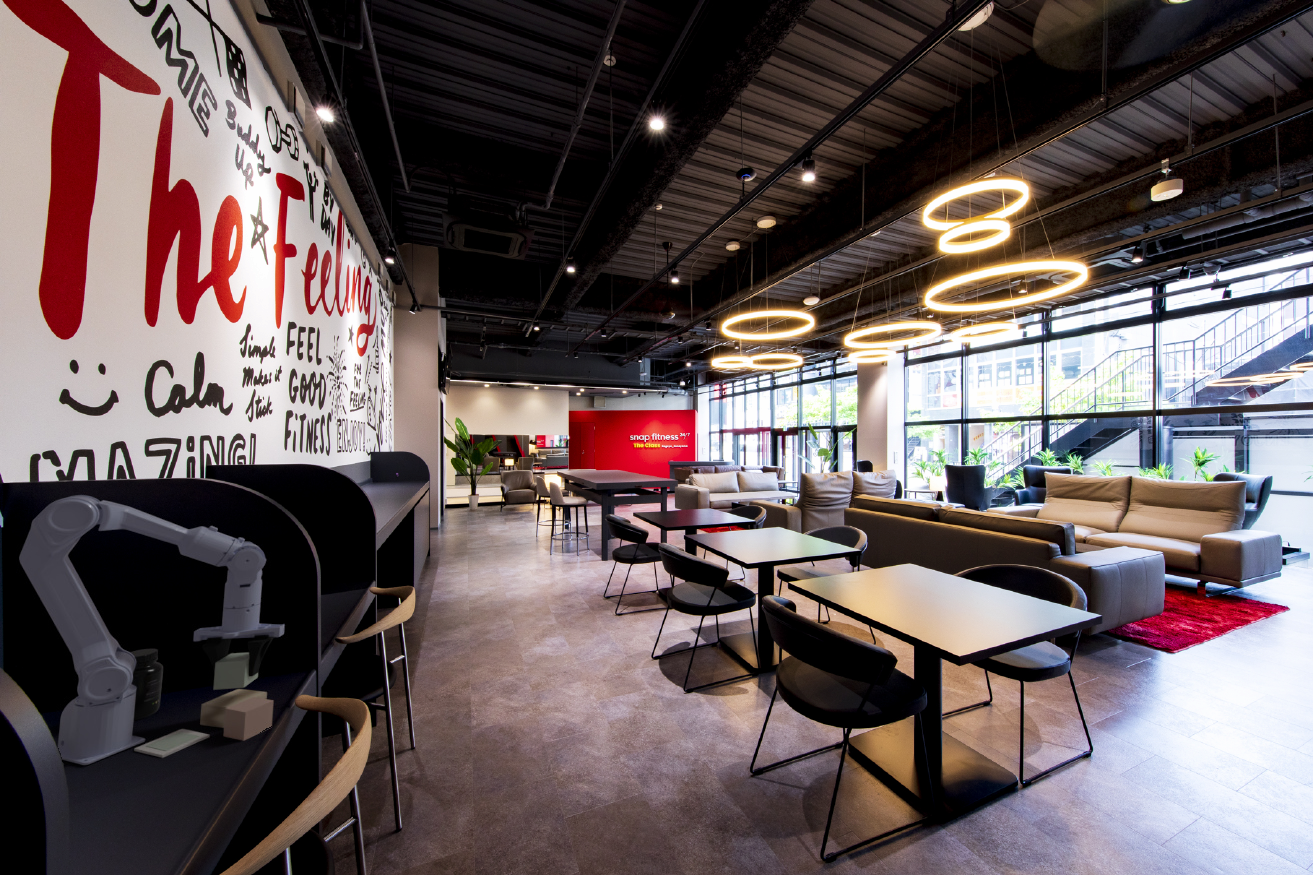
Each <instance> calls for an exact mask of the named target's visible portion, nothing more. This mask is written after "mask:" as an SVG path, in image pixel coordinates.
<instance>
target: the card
mask: <svg viewBox="0 0 1313 875" xmlns="http://www.w3.org/2000/svg"><path fill="white" fill-rule="evenodd" d="M208 738H210V734H207V733H203V732H199V731H195V730H191V729H185V728H181V729H178V730H176V731H173V732H171V733H168V734H167V735H163V736H161V737H159V738H155V739H154V740H150V741H149V742H146V743H145V744H142V745H140V746H136V747H134V752H136V753H137V752H138V753H142V754H145V755H151V756H153V757H154V756H155V757H158V758H161V759H163V758H165V757H168V756H170V755H172V754H175V753H176V752H179V751H181V750H183V749H186V748H187V747H191V746H192V745H194V744H196V743H199V742H202V741H204V740H206V739H208Z"/></svg>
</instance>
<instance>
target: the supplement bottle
mask: <svg viewBox="0 0 1313 875" xmlns="http://www.w3.org/2000/svg"><path fill="white" fill-rule="evenodd" d="M129 652H130V653H131V654H133V656H134V657H135V659H136V666H135V669H134V671H133V680H132V683H131V684H132V685H134V686H136V697H135V708H134V720H133V722H135V721H138V720H142V719H145V718H147V717H150V716H152V715H154V714H155V713H156V712H157V711H158V710H159V709H160V706H161V697H162V696H161V695H162V694H161V693H162V687H163V686H162V684H163V677H164V676H163V675H164V674H163V673H164V666H163V664H161V663H160V662H157V661H158V658H159V656H158V654H159V649H157V648H144V649H137V650H134V651H129Z"/></svg>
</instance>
